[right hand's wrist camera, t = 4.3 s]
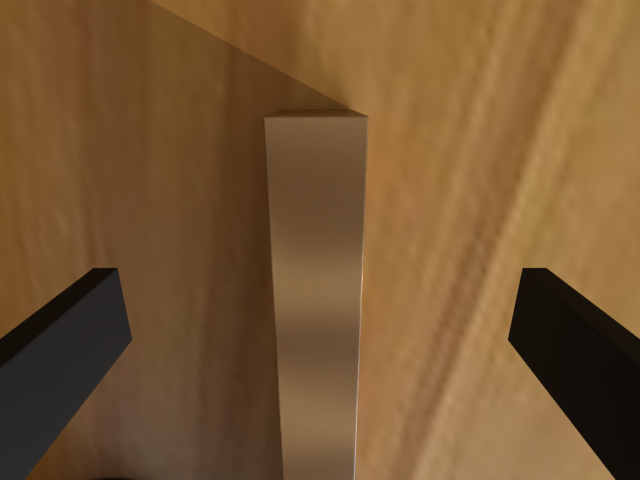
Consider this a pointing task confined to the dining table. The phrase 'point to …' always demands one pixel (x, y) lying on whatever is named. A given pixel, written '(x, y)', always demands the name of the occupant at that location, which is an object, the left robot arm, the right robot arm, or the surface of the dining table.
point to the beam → (317, 283)
